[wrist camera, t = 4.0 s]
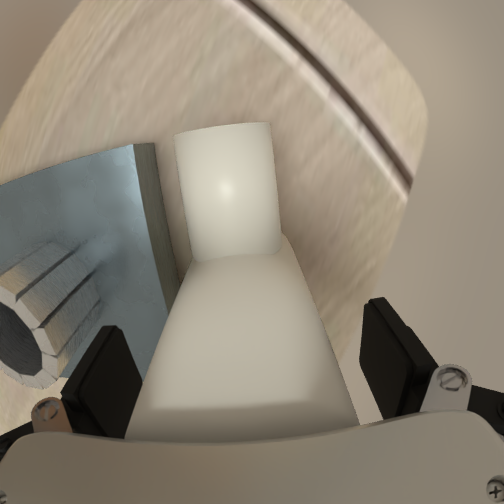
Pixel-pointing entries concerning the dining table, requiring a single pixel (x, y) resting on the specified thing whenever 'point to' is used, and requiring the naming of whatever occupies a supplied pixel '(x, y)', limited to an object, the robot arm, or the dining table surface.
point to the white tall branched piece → (238, 311)
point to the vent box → (83, 262)
